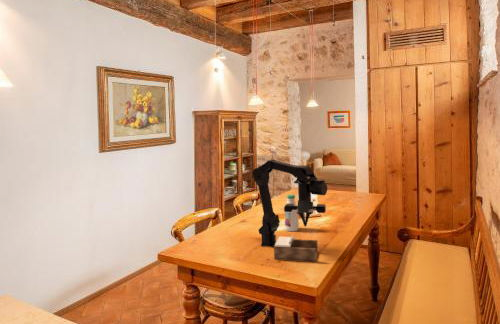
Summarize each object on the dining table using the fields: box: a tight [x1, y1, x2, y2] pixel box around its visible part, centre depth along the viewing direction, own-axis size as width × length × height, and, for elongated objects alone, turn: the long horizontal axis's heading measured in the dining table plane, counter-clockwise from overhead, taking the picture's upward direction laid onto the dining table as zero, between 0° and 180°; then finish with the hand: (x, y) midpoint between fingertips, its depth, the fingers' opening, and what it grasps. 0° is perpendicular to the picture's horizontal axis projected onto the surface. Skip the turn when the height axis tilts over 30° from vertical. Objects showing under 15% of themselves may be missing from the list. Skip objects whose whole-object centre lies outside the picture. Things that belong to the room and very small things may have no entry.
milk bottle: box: [284, 194, 300, 232], centre depth 210 cm, size 8×8×20 cm
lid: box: [274, 235, 295, 247], centre depth 173 cm, size 7×12×2 cm, turn 165°
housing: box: [273, 238, 319, 263], centre depth 172 cm, size 18×12×6 cm, turn 75°
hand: (305, 226), depth 173 cm, fingers closed
